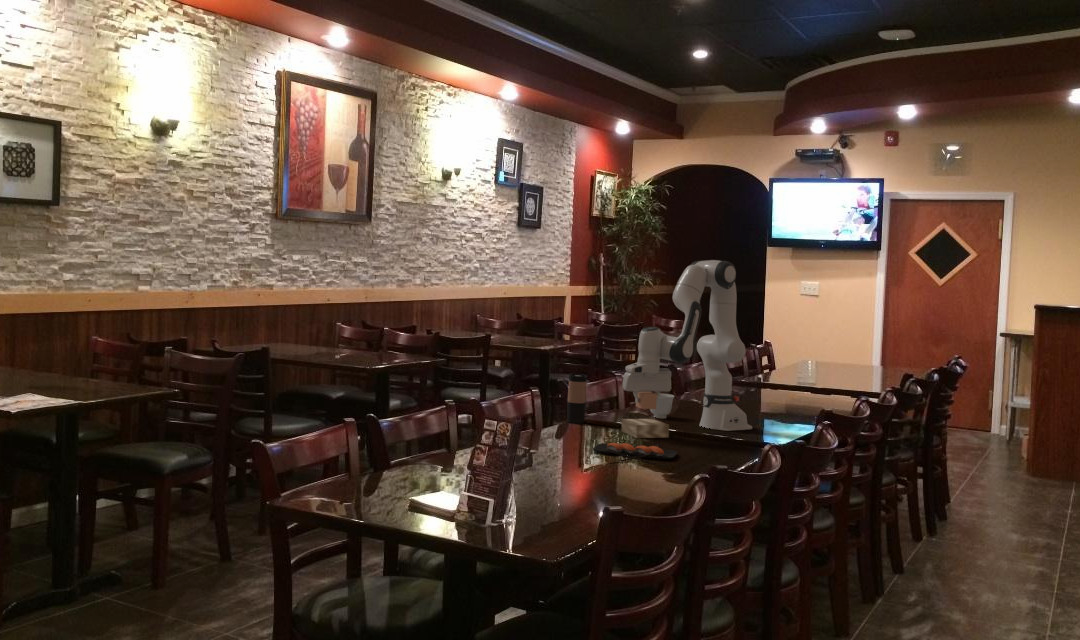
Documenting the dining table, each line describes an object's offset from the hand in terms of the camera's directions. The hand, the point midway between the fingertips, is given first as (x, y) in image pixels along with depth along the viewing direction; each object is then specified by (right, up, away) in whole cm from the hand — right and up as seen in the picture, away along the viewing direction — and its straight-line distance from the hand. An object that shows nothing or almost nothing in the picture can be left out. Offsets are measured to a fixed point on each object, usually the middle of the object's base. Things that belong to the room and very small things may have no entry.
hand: (646, 402), depth 377 cm
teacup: (+10, -11, +47) cm, 50 cm away
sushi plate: (-11, -16, -48) cm, 51 cm away
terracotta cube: (0, -2, 0) cm, 2 cm away
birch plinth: (0, -13, +1) cm, 13 cm away
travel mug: (-27, -11, +22) cm, 36 cm away
